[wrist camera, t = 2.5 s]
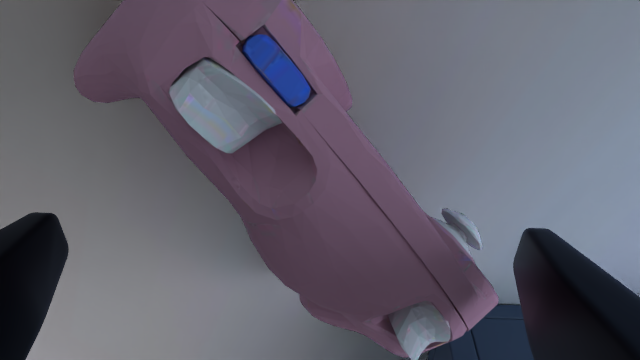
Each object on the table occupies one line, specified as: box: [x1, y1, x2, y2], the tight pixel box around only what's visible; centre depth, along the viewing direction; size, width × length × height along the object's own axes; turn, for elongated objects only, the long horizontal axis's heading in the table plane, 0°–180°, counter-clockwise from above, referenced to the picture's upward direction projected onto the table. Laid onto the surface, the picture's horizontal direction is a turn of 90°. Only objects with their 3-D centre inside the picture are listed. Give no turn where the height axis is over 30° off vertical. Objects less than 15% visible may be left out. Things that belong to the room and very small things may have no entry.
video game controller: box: [74, 0, 498, 360], centre depth 11 cm, size 10×5×7 cm, turn 35°
